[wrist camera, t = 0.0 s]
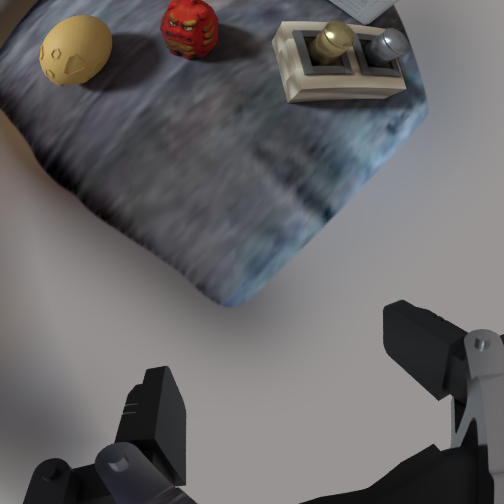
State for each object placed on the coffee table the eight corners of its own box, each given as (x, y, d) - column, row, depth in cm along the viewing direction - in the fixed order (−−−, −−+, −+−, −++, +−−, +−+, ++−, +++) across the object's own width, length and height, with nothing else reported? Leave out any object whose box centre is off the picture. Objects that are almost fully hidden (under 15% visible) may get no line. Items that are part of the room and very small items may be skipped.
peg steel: (358, 44, 30) (380, 26, 24) (379, 46, 31) (403, 30, 25) (365, 67, 31) (390, 51, 25) (387, 68, 31) (412, 54, 26)
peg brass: (303, 42, 29) (320, 19, 23) (330, 42, 30) (350, 21, 24) (311, 66, 30) (330, 46, 24) (337, 66, 31) (359, 48, 25)
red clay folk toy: (155, 53, 32) (136, -8, 17) (177, 16, 31) (170, -50, 16) (206, 67, 33) (211, 5, 19) (226, 29, 32) (240, -36, 18)
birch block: (271, 41, 34) (283, 19, 27) (366, 43, 36) (388, 27, 29) (287, 103, 36) (303, 87, 30) (383, 98, 38) (408, 88, 31)
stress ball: (99, 32, 30) (38, 32, 23) (129, 6, 24) (55, 1, 17) (94, 91, 34) (30, 96, 26) (121, 75, 28) (42, 76, 20)
